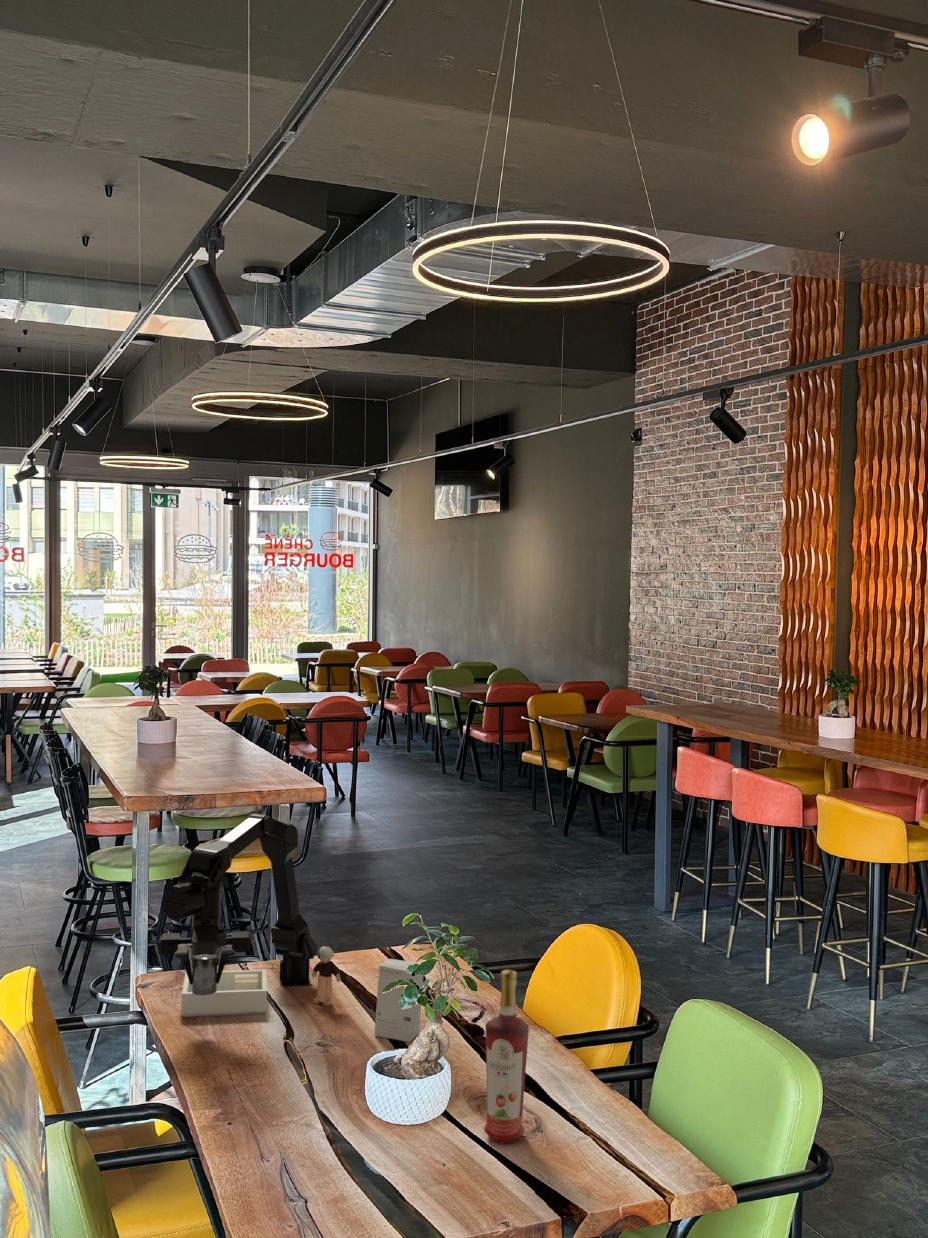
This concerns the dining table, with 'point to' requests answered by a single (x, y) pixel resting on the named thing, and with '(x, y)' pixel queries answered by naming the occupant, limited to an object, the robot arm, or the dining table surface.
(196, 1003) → the tote
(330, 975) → the grandmother figurine
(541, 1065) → the dining table surface
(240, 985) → the wood cube
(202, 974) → the metal cylinder
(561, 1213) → the dining table surface
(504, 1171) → the dining table surface
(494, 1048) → the liquor
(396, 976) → the skincare box
